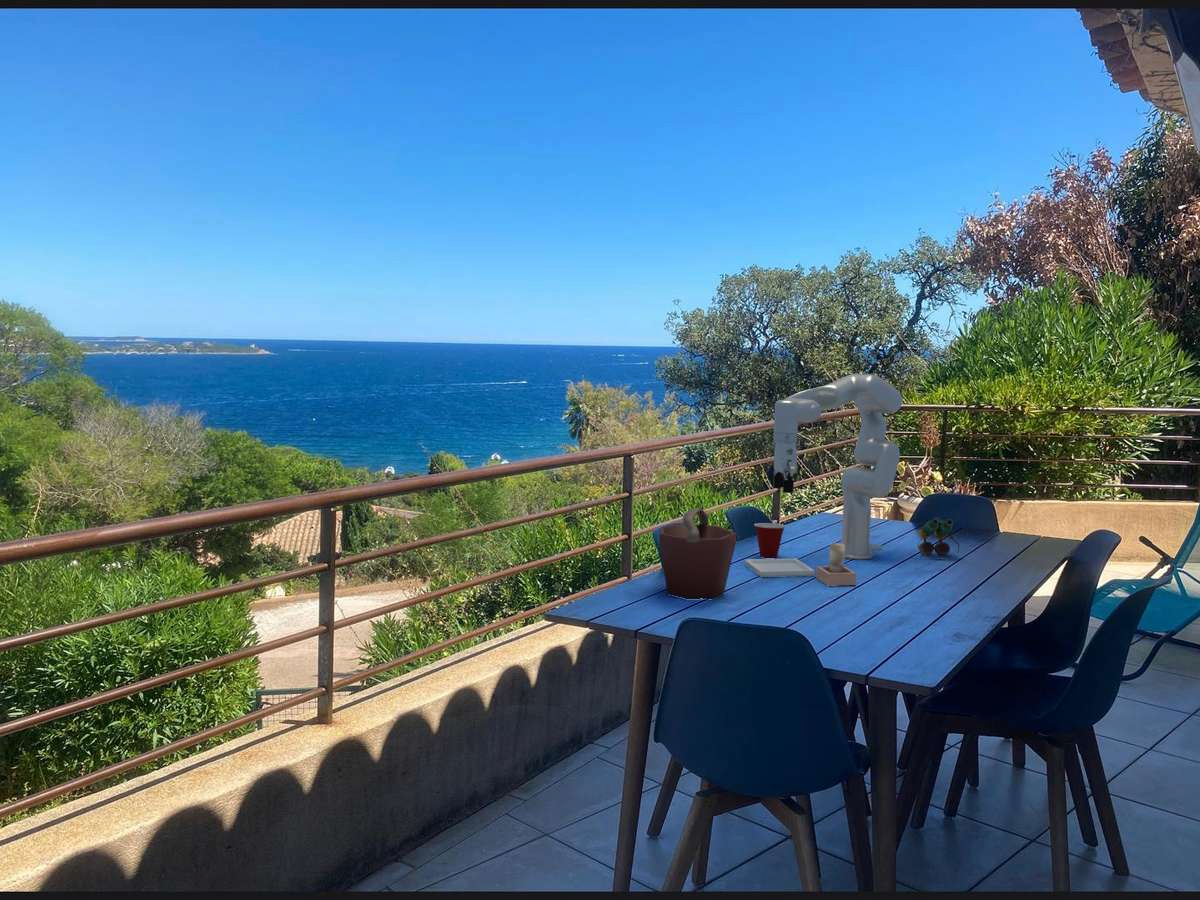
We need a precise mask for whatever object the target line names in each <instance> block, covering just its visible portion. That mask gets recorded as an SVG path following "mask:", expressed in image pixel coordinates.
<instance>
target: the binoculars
mask: <svg viewBox="0 0 1200 900" xmlns="http://www.w3.org/2000/svg"><path fill="white" fill-rule="evenodd" d="M953 524H954V521H953V519H951V518H949V519H946V520H942V519H941V518H939V517H935V518H932V520H928V521H927V522H926V523H925V524H923V526H922V527H921V529H920V530H919V531H918V535H919V537H920V539H919V540H918V542H917V548H918V550H919V552H920V553H921V554H922V555H923V556H925V557H927V558H929V559H931V560H936V561H946V560H951V559H952V558H954V557H956V555H958V553H959V551H960V543H959V542H958V541H957V540H956V539H955V538H954V535H953V534H952V531H951V530H952V529H953ZM933 535H934V537H935V538H936V539H937V540H939V543H938V542H937V543H936V544H933V543H932V542H930V541H927V539H929V537H930V536H933ZM947 536H948V537H949V539H950V540H952V541H954V543H956V544H957V547H958V550H957V551H956V553H955V554H954V555H953V556H951V557H948V558H935V557H932V556H930V555H931V554H932V553H934V552H935V554H937V555H938V556H940V557H944V556H946V555H948V554H949V553H950V551H951V546H950V545H949V544H948V543H947V542H944V541H943V539H945V538H946V537H947ZM921 540H923V542H922V543H920V541H921ZM942 541H943V542H942Z"/></svg>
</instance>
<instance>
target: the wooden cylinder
mask: <svg viewBox="0 0 1200 900" xmlns="http://www.w3.org/2000/svg"><path fill="white" fill-rule="evenodd" d="M844 552H845V545H844V544H841V543H839V542H834V543H833V542H832V543H830V544H829V561H828V566H829V572H830V573H843V572H844V566H845V557H844Z"/></svg>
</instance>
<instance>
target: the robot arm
mask: <svg viewBox="0 0 1200 900" xmlns="http://www.w3.org/2000/svg"><path fill="white" fill-rule="evenodd" d="M902 397H903V396H902V394H901V392H900V391H899V390H898V389H896V388H895V387H894V386H892V385H891V384H890V382H888V381H886V380H884V379H883V378H881V377H880V376H878V375H875V374H871V373H870V374H867V373H866V374H865V373H851V374H848V375H845V376H843V377H841V378H839V379H837V380H835V381H832V382H830V383H827V384H826V385H822V386H818V387H817V386H816V387H814V388H810V389H806V390H803V391H802V390H801V391H799V392H797V393H794V394H792V395H790V396H787V397H786V398H784V399H779V400H777V401H775V404H774V418H773V419H774V420H773V421H774V422H773V423H774V424H773V443H774V453H773V470H774V471H773V475H774V476H773V488H777V489H780V488H781V489H782V492H783V493H791V494H792V493H794V484H795V483H794V481H795V474H796V473H797V471H798V467H797V466H798V464H797V463H798V462H797V461H798V459H797V456H798V455H797V444H798V433H799V432H798V430H799V428H798V427H799V423H801V422H802V423H813V422H815V421H817V420H818V419H819V418H820V417H821V415H822V411H827V410H833V409H839V408H840V407H843V406H844V405H846V404H848V403H850V402H852V401H854V403H855V406H856V408H857V410H858V412H859V415H860V419H861V427H860V431H859V433H858V437H857V441H856V444H855V447H854V450H853V451H854V452H853V459H854V461H856V462H857V463H858V464H861V465H865V466H871V467H875V469H871V468H865V467H858V466H856V467H855V466H852V467H849V468H847V469H845V470H844V471H843V473H842V476H841V480H840V481H841V489H842V497H843V499H842V500H843V501H842V502H843V503H842V505H843V508H842V523H841V524H842V526H841V543H840V544H844V545H845V552H844V559H852V560H869V559H872V558H873V557H874V553H873V552H874V551H878V552H880V551H883V545H881V544H879V545H878V544H877V545H876V544H873V543H870V539H871V538H870V536H871V521H872V520H871V518H872V504H871V501H870V498H876V499H882V498H886V497H887V496H888V494H889V493H890V492H891V489H892V487H893V484H894V483H893V482H894V479H895V476H896V473H897V470H898V467H899V463H900V457H901V454H900V452H901V451H900V448H899V446H898V445H897V443H896V442H894V441H892V440H885V437H886V432H887V423H886V422H887V421H886V420H885V417H884V416H883V414H893V413H896V412H897V411H899V410H901V409H900V408H901V407H902V403H903V399H902ZM869 497H870V498H869Z"/></svg>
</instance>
